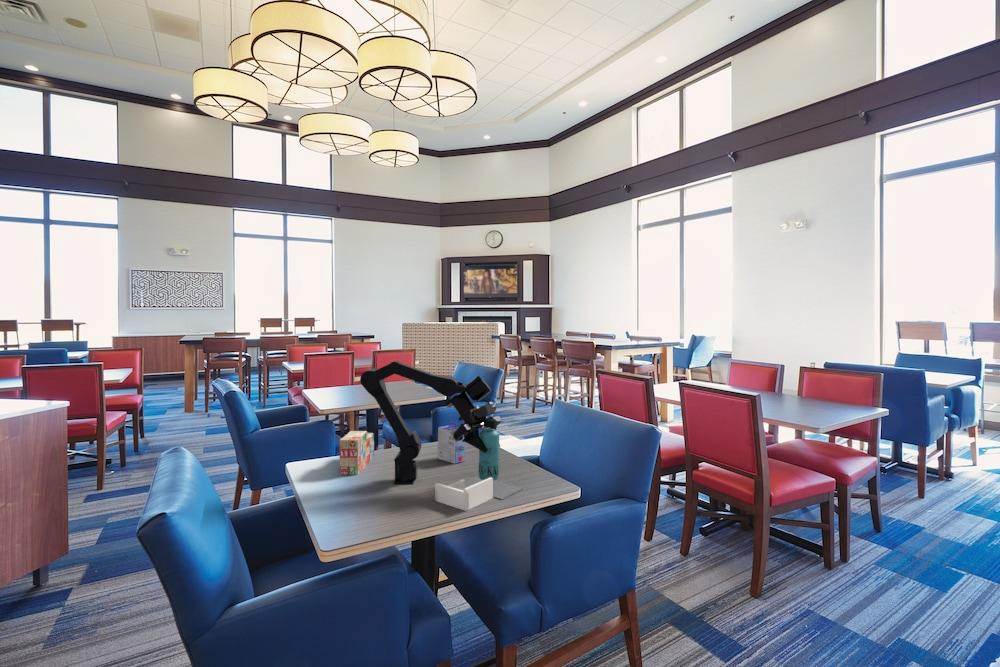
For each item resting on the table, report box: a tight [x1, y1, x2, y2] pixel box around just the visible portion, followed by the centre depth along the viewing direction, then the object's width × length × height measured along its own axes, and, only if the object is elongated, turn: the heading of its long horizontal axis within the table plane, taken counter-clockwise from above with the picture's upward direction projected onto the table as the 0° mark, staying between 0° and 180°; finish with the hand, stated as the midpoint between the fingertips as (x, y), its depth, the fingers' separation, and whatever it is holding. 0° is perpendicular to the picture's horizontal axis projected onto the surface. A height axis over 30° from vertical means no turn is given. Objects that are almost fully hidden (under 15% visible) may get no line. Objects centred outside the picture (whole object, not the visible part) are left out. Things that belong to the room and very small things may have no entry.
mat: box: [465, 476, 524, 501], centre depth 148 cm, size 18×11×1 cm, turn 53°
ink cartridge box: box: [437, 420, 466, 465], centre depth 176 cm, size 10×6×14 cm, turn 49°
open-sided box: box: [434, 477, 494, 512], centre depth 138 cm, size 12×12×6 cm
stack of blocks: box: [339, 430, 375, 476], centre depth 170 cm, size 21×6×12 cm, turn 0°
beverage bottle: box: [477, 418, 501, 481], centre depth 147 cm, size 6×7×20 cm
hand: (492, 449), depth 147 cm, fingers closed on beverage bottle, 6 cm apart
